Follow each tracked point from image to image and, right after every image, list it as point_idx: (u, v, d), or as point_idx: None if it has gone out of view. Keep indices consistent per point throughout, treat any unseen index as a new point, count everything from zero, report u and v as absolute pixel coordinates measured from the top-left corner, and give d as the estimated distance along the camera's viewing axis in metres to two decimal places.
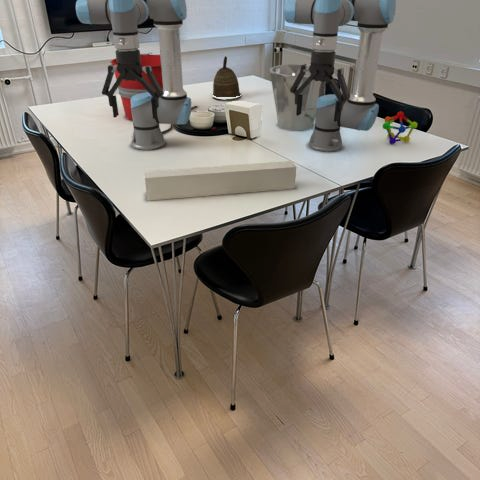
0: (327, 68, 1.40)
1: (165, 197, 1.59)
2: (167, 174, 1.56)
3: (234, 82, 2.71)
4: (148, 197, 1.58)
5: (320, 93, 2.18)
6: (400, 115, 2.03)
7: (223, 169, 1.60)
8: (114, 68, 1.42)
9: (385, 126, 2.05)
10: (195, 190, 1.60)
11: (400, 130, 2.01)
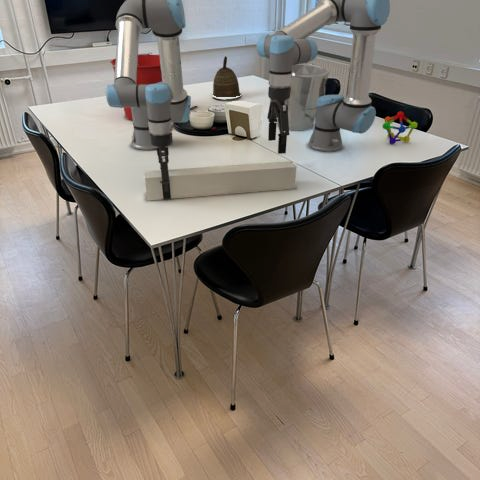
0: None
1: None
2: None
3: (234, 82, 2.71)
4: (148, 196, 1.58)
5: (320, 93, 2.18)
6: (400, 115, 2.03)
7: (223, 169, 1.60)
8: (164, 155, 1.49)
9: (385, 126, 2.05)
10: (195, 190, 1.60)
11: (400, 130, 2.01)
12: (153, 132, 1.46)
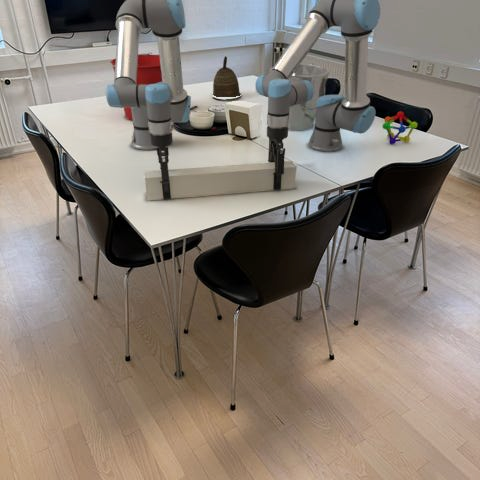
0: None
1: None
2: None
3: (234, 82, 2.71)
4: (148, 196, 1.58)
5: (320, 93, 2.18)
6: (400, 115, 2.03)
7: (223, 169, 1.60)
8: (164, 155, 1.49)
9: (385, 126, 2.05)
10: (195, 190, 1.60)
11: (400, 130, 2.01)
12: (153, 132, 1.46)
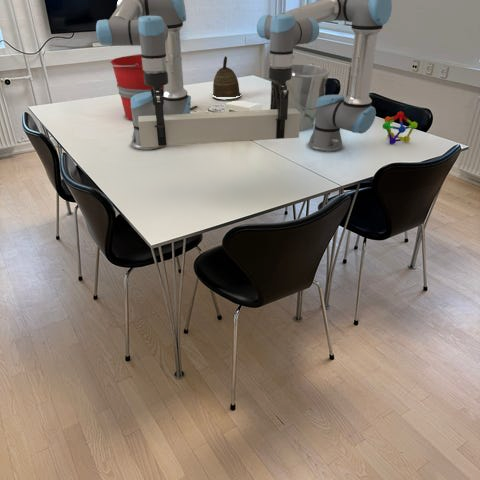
0: None
1: None
2: None
3: (234, 82, 2.71)
4: (142, 143, 1.47)
5: (320, 93, 2.18)
6: (400, 115, 2.03)
7: (222, 114, 1.50)
8: (159, 95, 1.39)
9: (385, 126, 2.05)
10: (193, 137, 1.50)
11: (400, 130, 2.01)
12: (147, 69, 1.36)
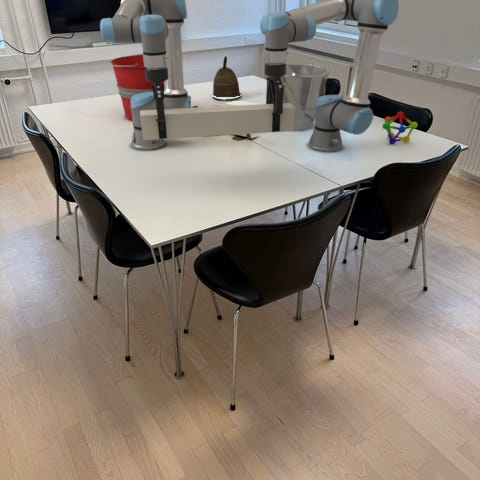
0: None
1: None
2: None
3: (234, 82, 2.71)
4: (144, 136, 1.55)
5: (320, 93, 2.18)
6: (400, 115, 2.03)
7: (220, 109, 1.57)
8: (160, 91, 1.46)
9: (385, 126, 2.05)
10: (192, 130, 1.57)
11: (400, 130, 2.01)
12: (148, 66, 1.43)
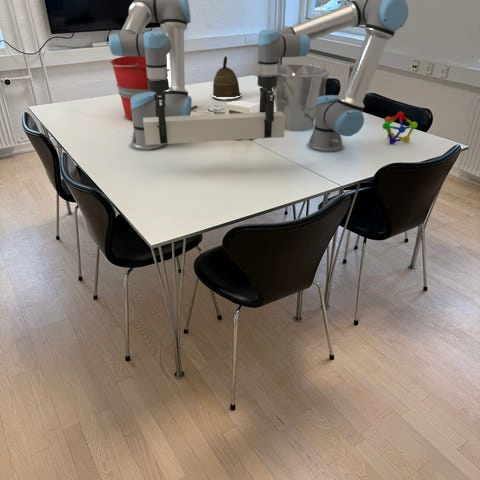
0: None
1: None
2: None
3: (234, 82, 2.71)
4: (146, 141, 1.68)
5: (320, 93, 2.18)
6: (400, 115, 2.03)
7: (216, 116, 1.71)
8: (161, 100, 1.60)
9: (385, 126, 2.05)
10: (190, 136, 1.71)
11: (400, 130, 2.01)
12: (151, 77, 1.57)
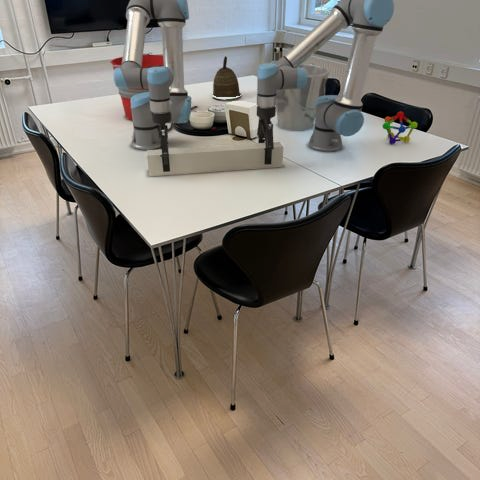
0: None
1: (165, 173, 1.77)
2: None
3: (234, 82, 2.71)
4: (150, 173, 1.76)
5: (320, 93, 2.18)
6: (400, 115, 2.03)
7: (217, 148, 1.78)
8: None
9: (385, 126, 2.05)
10: (192, 167, 1.78)
11: (400, 130, 2.01)
12: (154, 110, 1.63)
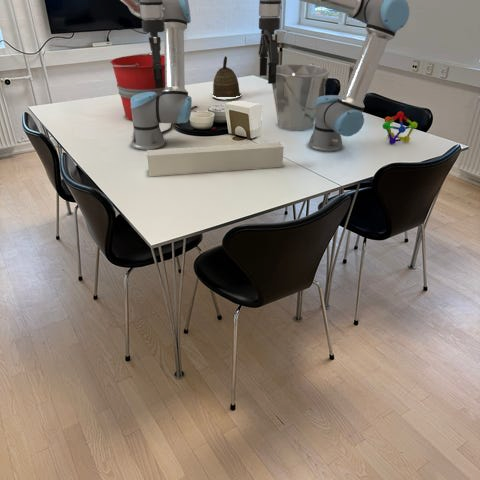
0: None
1: (165, 173, 1.77)
2: (167, 152, 1.74)
3: (234, 82, 2.71)
4: (150, 173, 1.76)
5: (320, 93, 2.18)
6: (400, 115, 2.03)
7: (217, 148, 1.78)
8: None
9: (385, 126, 2.05)
10: (192, 167, 1.78)
11: (400, 130, 2.01)
12: (145, 16, 1.47)
